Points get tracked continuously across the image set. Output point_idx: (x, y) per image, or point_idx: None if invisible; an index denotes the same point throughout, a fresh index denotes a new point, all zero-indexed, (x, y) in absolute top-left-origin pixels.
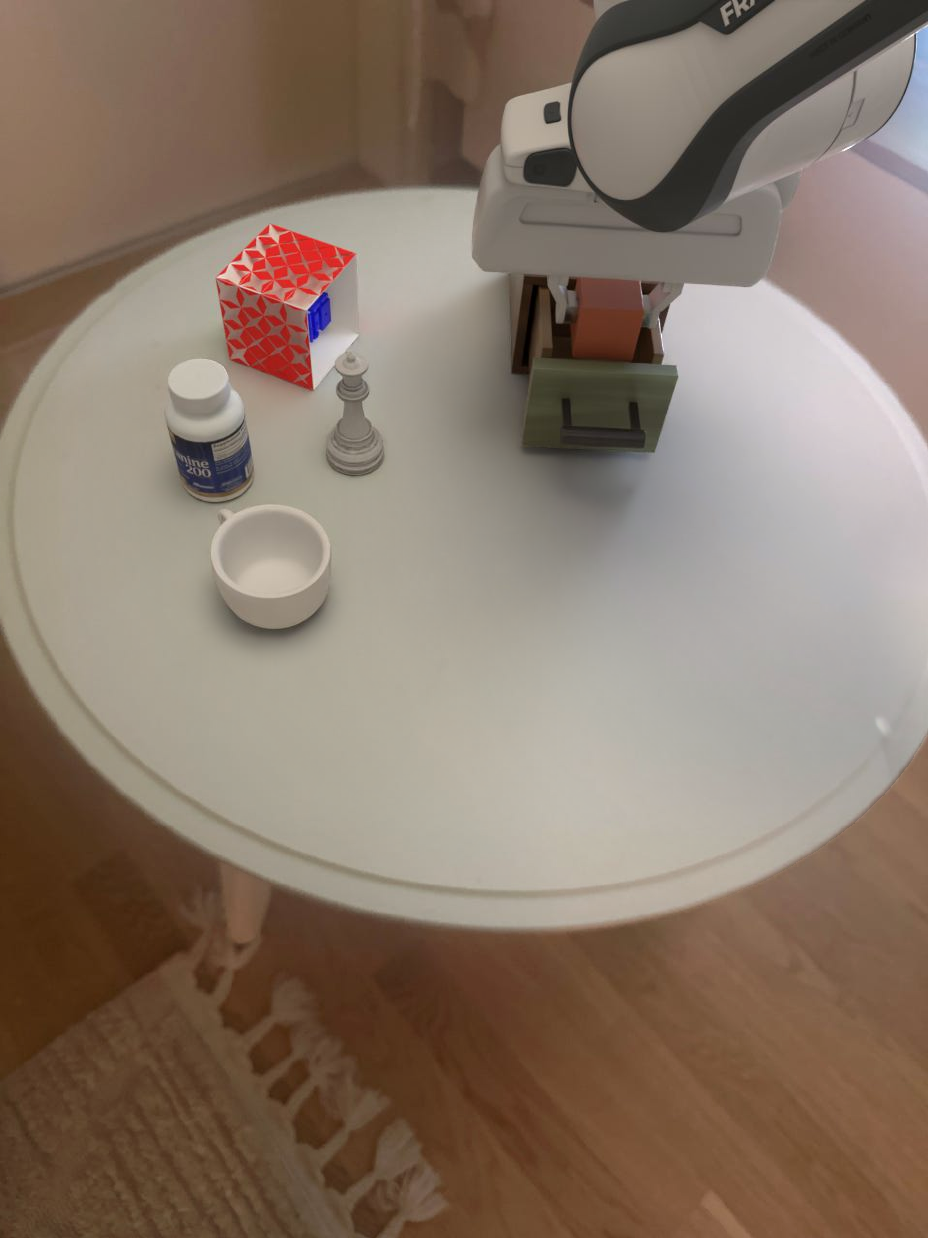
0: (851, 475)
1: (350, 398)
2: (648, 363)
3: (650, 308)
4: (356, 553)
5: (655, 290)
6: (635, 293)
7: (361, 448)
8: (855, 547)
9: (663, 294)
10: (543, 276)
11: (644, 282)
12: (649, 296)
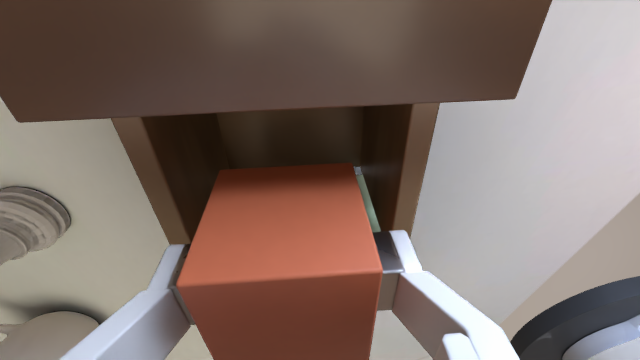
0: (593, 172)
1: None
2: (380, 216)
3: (392, 303)
4: (108, 293)
5: (417, 297)
6: (355, 331)
7: (32, 249)
8: (535, 243)
9: (429, 342)
10: (84, 119)
11: (418, 100)
12: (399, 281)
